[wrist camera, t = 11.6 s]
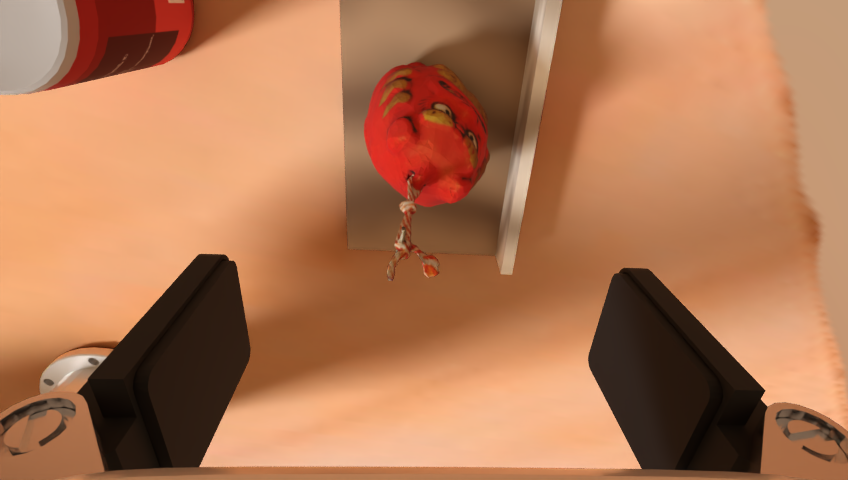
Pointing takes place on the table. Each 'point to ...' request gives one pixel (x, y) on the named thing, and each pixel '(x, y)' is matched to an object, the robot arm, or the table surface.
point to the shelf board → (480, 73)
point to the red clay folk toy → (425, 144)
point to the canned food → (86, 40)
